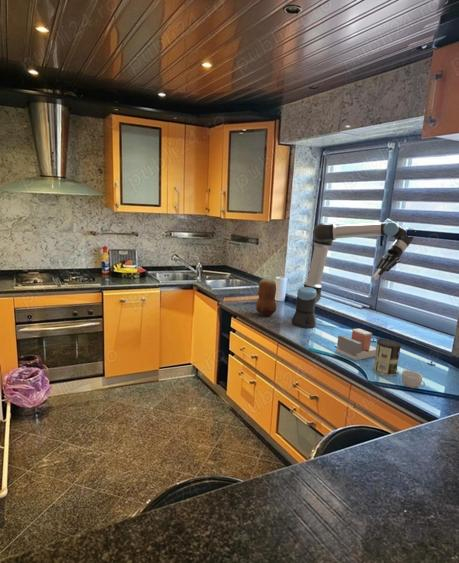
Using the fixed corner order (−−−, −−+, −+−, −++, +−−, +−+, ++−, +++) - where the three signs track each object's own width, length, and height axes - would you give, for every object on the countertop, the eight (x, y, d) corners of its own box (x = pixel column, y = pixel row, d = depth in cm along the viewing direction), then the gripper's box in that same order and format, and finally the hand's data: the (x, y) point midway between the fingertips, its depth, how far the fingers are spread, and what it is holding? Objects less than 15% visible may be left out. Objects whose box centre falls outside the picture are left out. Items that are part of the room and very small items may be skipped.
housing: (364, 345, 209) (366, 331, 207) (384, 354, 198) (387, 338, 196) (336, 351, 197) (338, 335, 196) (356, 360, 186) (358, 343, 185)
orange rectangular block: (356, 346, 201) (359, 328, 199) (369, 351, 194) (372, 333, 193) (349, 347, 199) (352, 329, 197) (362, 352, 192) (365, 334, 190)
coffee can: (393, 368, 179) (398, 340, 176) (398, 377, 169) (403, 347, 166) (371, 365, 181) (375, 337, 178) (374, 374, 171) (379, 344, 168)
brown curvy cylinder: (267, 312, 266) (270, 277, 262) (279, 317, 255) (282, 280, 251) (251, 313, 259) (254, 277, 255) (262, 318, 248) (266, 281, 244)
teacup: (396, 383, 162) (398, 371, 161) (407, 380, 166) (409, 369, 165) (417, 393, 154) (419, 381, 153) (429, 390, 158) (431, 378, 157)
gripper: (409, 255, 217) (386, 285, 212) (389, 252, 228) (367, 280, 222) (405, 246, 213) (381, 275, 208) (385, 243, 224) (362, 271, 219)
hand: (374, 278), depth 215 cm, fingers closed
